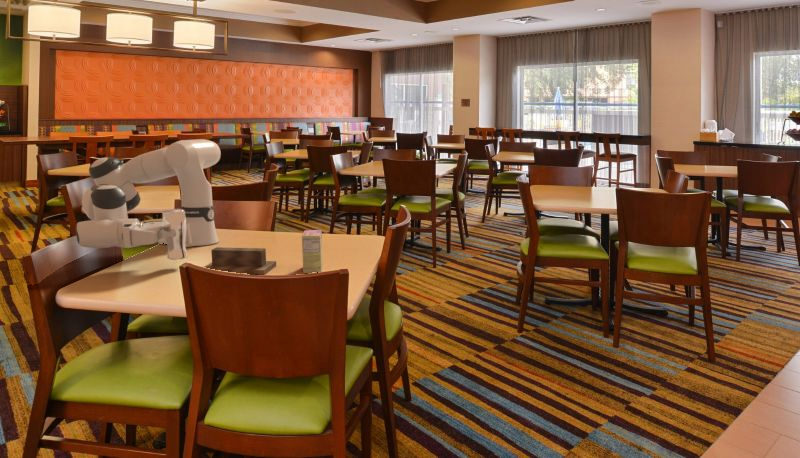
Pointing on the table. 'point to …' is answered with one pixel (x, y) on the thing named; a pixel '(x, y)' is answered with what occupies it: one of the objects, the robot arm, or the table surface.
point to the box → (312, 251)
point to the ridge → (241, 260)
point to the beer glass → (176, 222)
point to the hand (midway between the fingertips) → (178, 231)
